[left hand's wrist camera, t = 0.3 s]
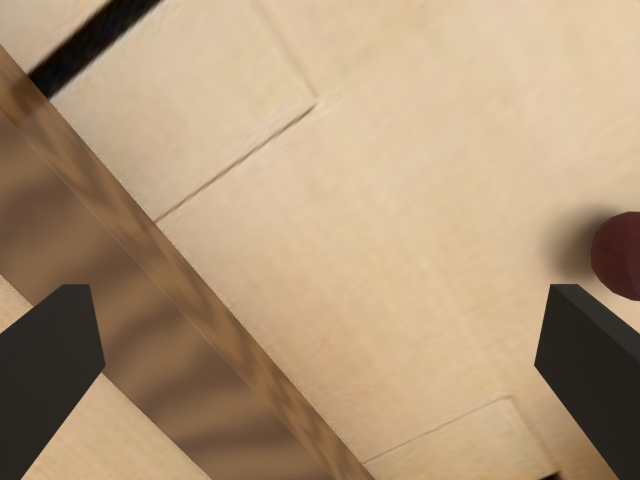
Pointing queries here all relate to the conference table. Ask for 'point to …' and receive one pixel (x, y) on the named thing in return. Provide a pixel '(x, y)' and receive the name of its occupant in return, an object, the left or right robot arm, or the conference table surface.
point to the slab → (148, 305)
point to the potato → (619, 255)
